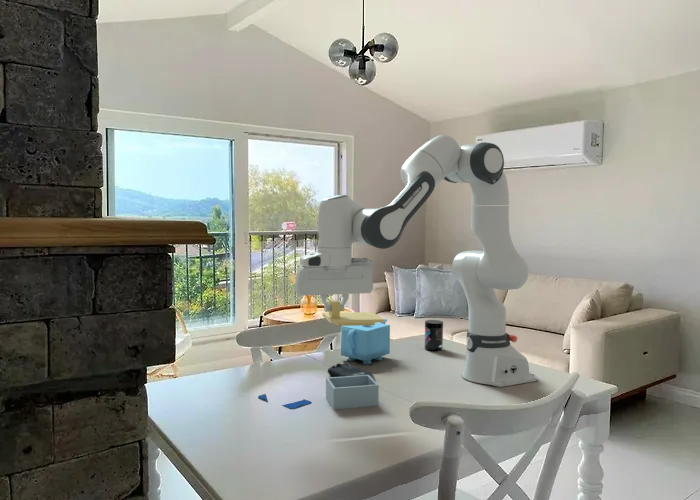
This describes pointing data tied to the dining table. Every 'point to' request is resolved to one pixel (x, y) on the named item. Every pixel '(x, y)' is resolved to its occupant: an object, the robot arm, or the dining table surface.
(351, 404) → the tub
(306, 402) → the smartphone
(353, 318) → the lid
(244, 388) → the dining table surface
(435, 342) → the supplement container
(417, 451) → the dining table surface
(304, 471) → the dining table surface
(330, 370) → the electronic device
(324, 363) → the dining table surface
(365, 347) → the teapot
